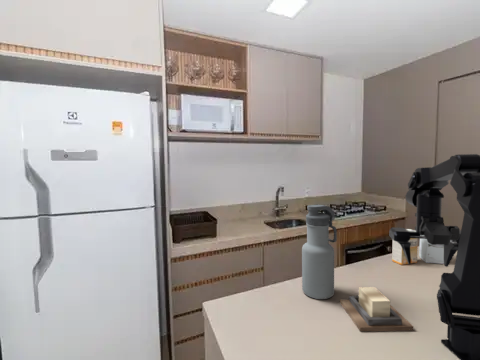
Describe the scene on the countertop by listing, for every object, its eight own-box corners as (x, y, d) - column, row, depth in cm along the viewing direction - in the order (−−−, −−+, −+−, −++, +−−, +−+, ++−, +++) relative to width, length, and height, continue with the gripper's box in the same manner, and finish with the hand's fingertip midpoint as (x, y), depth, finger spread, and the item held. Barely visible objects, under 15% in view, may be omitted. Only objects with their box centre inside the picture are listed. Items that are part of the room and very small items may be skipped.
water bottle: (321, 282, 90) (320, 202, 88) (342, 295, 81) (342, 206, 79) (296, 288, 86) (295, 204, 84) (315, 303, 77) (315, 209, 75)
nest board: (413, 330, 64) (413, 320, 63) (360, 331, 64) (360, 321, 64) (384, 302, 77) (384, 293, 76) (339, 302, 77) (339, 294, 76)
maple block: (358, 304, 74) (358, 287, 73) (374, 304, 74) (374, 286, 73) (372, 320, 66) (372, 301, 66) (389, 319, 66) (390, 301, 66)
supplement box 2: (425, 263, 104) (426, 232, 103) (418, 256, 111) (419, 227, 111) (447, 264, 102) (448, 233, 101) (439, 258, 109) (439, 228, 108)
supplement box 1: (401, 265, 102) (402, 232, 102) (391, 261, 107) (392, 229, 106) (418, 263, 105) (418, 231, 104) (407, 258, 109) (408, 228, 108)
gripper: (400, 216, 69) (399, 273, 70) (486, 219, 64) (484, 280, 65) (389, 208, 80) (388, 258, 81) (461, 210, 75) (459, 263, 76)
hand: (427, 264), depth 75 cm, fingers open, 9 cm apart
